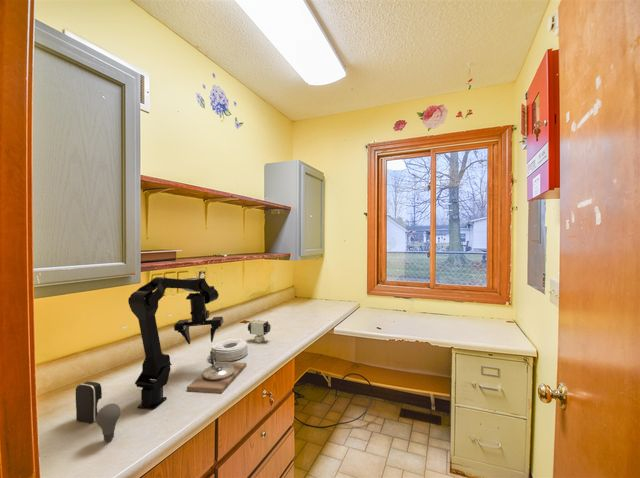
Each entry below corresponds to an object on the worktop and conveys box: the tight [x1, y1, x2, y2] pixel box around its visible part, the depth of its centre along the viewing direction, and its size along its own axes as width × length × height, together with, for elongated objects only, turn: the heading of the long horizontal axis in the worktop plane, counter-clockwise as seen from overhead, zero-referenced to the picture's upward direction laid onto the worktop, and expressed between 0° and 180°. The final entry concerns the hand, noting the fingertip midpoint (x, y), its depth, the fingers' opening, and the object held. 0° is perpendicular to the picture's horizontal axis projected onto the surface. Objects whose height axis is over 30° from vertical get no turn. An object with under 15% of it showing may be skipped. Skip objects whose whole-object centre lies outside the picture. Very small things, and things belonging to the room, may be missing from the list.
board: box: [186, 361, 247, 394], centre depth 116 cm, size 22×14×2 cm, turn 171°
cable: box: [207, 338, 249, 363], centre depth 138 cm, size 18×18×6 cm
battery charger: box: [75, 381, 103, 424], centre depth 90 cm, size 7×4×11 cm, turn 76°
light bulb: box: [95, 403, 121, 442], centre depth 80 cm, size 6×6×10 cm
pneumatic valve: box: [247, 319, 272, 344], centre depth 156 cm, size 6×12×12 cm, turn 74°
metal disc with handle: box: [202, 350, 234, 381], centre depth 117 cm, size 15×12×6 cm
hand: (200, 342), depth 121 cm, fingers open, 9 cm apart
